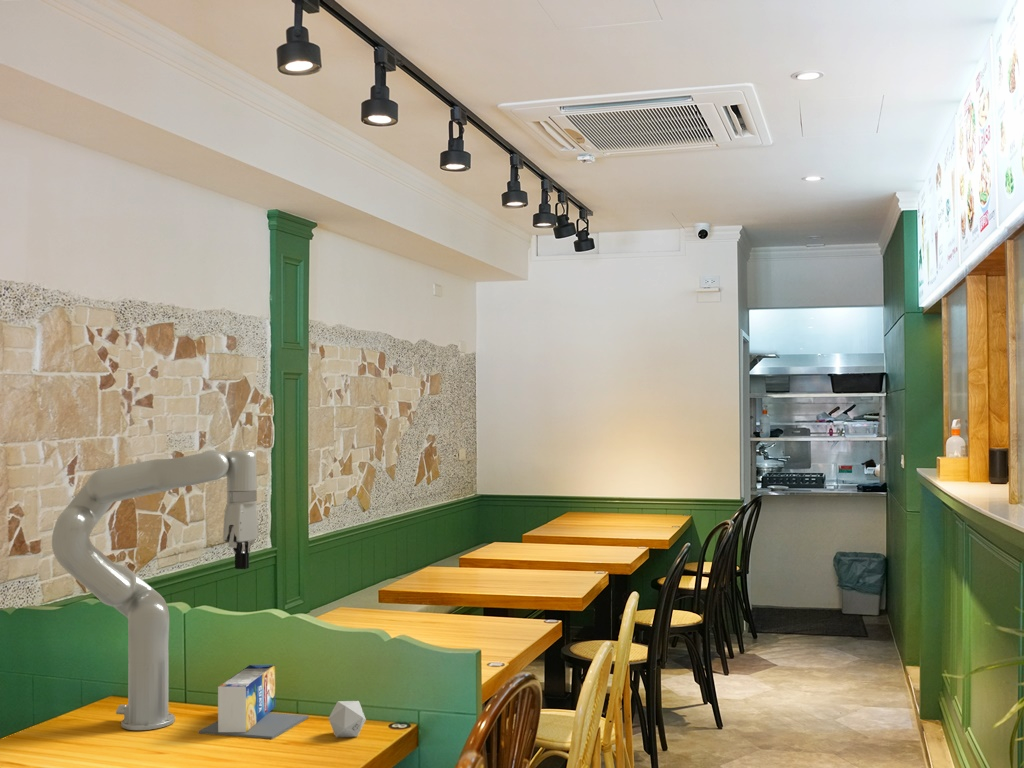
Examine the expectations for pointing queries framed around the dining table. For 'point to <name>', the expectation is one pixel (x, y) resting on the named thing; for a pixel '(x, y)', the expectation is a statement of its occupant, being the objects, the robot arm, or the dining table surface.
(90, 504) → the robot arm
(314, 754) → the dining table surface
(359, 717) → the die
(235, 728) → the beverage box
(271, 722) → the mat
